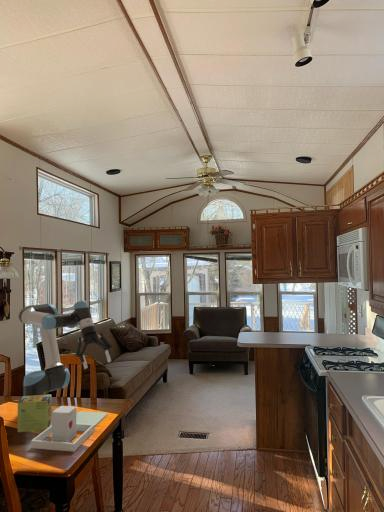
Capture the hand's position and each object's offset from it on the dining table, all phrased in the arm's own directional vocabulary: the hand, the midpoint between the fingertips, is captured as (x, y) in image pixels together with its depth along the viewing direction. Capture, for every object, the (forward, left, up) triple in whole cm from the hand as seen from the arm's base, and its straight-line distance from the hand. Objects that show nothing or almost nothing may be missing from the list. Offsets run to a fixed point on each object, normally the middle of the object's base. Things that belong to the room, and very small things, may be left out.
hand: (98, 365), depth 205 cm
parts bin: (-12, -14, -34) cm, 38 cm away
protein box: (-35, -3, -34) cm, 49 cm away
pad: (-12, +10, -34) cm, 37 cm away
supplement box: (-12, -14, -34) cm, 39 cm away
